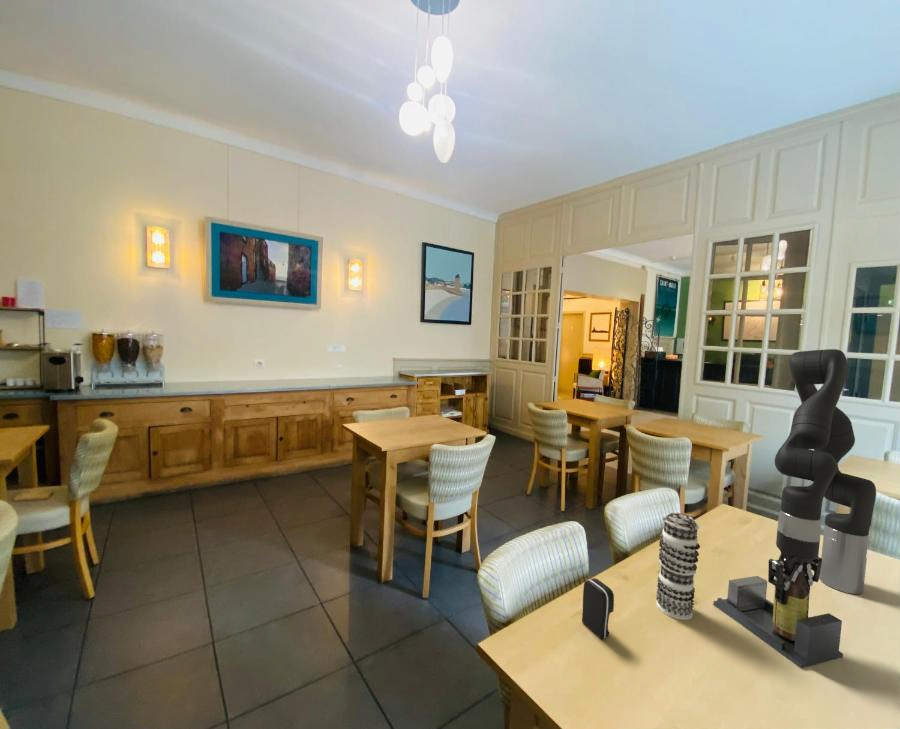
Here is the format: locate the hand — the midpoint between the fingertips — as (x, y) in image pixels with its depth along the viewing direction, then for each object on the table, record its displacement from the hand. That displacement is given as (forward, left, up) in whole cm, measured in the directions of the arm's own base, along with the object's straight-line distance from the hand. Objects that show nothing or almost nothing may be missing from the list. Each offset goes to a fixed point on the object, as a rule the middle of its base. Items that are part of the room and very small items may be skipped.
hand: (791, 600), depth 93 cm
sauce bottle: (0, 0, -9) cm, 9 cm away
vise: (0, -3, -10) cm, 10 cm away
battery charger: (+44, -13, -10) cm, 47 cm away
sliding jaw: (0, -10, -9) cm, 13 cm away
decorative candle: (+19, -15, -10) cm, 26 cm away
